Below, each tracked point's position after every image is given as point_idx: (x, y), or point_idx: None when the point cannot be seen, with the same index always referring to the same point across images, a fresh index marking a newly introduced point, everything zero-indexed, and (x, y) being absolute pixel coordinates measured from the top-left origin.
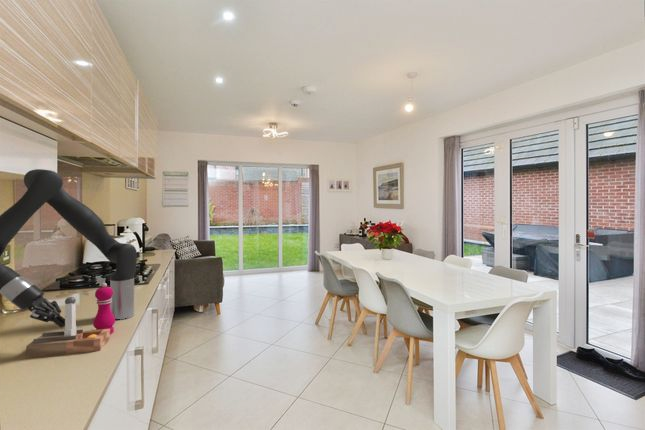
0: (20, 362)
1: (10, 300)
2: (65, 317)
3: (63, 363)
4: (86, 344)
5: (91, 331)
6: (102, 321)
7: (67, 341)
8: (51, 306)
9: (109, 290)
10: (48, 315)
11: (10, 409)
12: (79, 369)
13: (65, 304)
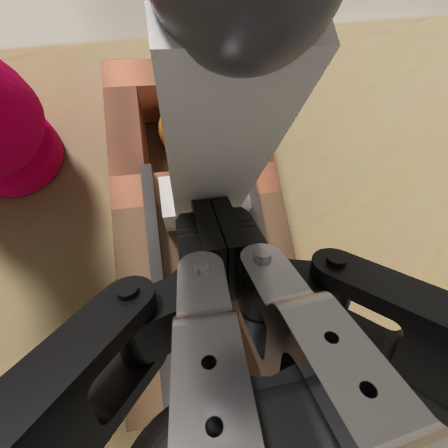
0: None
1: None
2: (262, 166)
3: (347, 173)
4: None
5: (130, 136)
6: (20, 92)
7: (272, 189)
8: (236, 383)
9: None
10: (396, 273)
11: None
12: (387, 101)
13: (333, 46)
